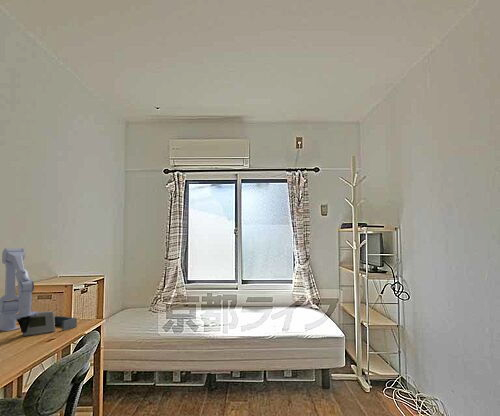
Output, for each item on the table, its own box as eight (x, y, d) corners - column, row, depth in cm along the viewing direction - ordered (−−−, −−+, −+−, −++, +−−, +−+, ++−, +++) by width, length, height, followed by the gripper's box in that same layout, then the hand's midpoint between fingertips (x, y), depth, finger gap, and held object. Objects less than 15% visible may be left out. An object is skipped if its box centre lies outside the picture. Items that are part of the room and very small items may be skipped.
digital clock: (21, 337, 214) (22, 315, 215) (19, 333, 222) (20, 312, 222) (56, 333, 223) (57, 312, 224) (53, 329, 231) (54, 310, 231)
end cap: (43, 328, 234) (44, 318, 234) (57, 324, 243) (57, 315, 243) (63, 330, 229) (64, 321, 229) (76, 327, 237) (76, 318, 237)
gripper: (18, 307, 207) (16, 336, 206) (42, 303, 220) (41, 330, 219) (7, 306, 209) (6, 334, 209) (32, 302, 223) (31, 328, 222)
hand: (23, 332), depth 214 cm, fingers closed
